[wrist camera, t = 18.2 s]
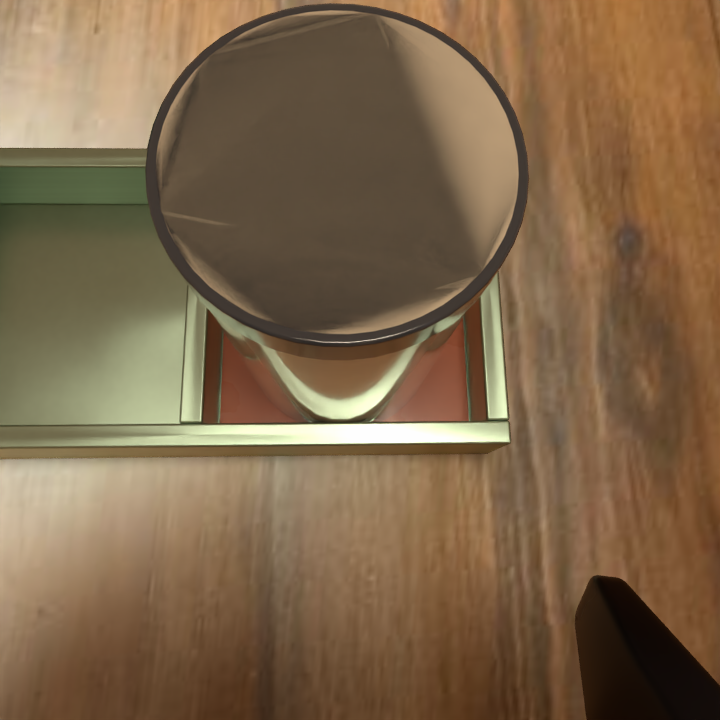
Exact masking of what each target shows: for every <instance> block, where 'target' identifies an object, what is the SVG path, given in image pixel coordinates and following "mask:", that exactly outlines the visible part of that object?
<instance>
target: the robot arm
mask: <svg viewBox="0 0 720 720" xmlns="http://www.w3.org/2000/svg"><path fill="white" fill-rule="evenodd" d="M575 630H576V638H577V646H578V654H579V663H580V671H581V679H582V687H583V695H584V703H585V711H586V719H587V720H720V685H719V684H718V683H717V682H716V681H715V680H714V679H713V678H712V677H711V675H710V674H709V673H708V672H707V671H706V670H705V669H704V668H703V667H702V666H701V664H700V663H699V662H698V661H697V660H696V659H695V658H694V657H693V656H692V655H691V653H690V652H689V651H688V650H687V649H686V648H685V647H684V646H683V645H682V644H681V642H680V641H679V640H678V639H677V638H676V637H675V636H674V635H673V634H672V633H671V631H670V630H669V629H668V628H667V627H666V626H665V625H664V624H663V623H662V622H661V620H660V619H659V618H658V617H657V616H656V615H655V614H654V613H653V612H652V611H651V609H650V608H649V607H648V606H647V605H646V604H645V603H644V602H643V601H642V600H641V598H640V597H639V596H638V595H637V594H636V593H635V592H634V591H633V590H632V589H631V587H630V586H629V585H628V584H627V583H626V582H625V581H623V580H622V579H620V578H616V577H608V576H599V575H596V576H593V577H592V578H591V579H590V581H589V583H588V585H587V587H586V589H585V592H584V594H583V596H582V599H581V601H580V603H579V605H578V608H577V611H576V615H575Z"/></svg>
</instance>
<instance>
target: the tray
mask: <svg viewBox="0 0 720 720" xmlns="http://www.w3.org/2000/svg"><path fill="white" fill-rule="evenodd" d="M146 156H147V149H110V148H0V459H33V458H126V457H219V456H312V455H406V454H488V453H490V452H492V451H494V450H496V449H499V448H501V447H503V446H506V445H508V444H510V443H511V433H510V423H509V421H507V420H509V407H508V394H507V380H506V366H505V353H504V339H503V325H502V312H501V298H500V284H499V271H498V272H497V274H496V275H495V277H494V278H493V280H492V281H491V283H490V284H489V286H488V287H487V288H486V289H485V291H484V292H483V293H482V295H481V296H480V297H479V299H478V300H477V301H476V302H475V303H474V304H473V305H472V306H471V307H470V308H469V309H468V310H467V311H466V313H465V315H464V316H463V318H462V320H461V321H460V323H459V325H458V326H457V328H456V329H455V331H454V333H453V334H452V336H451V338H450V339H449V341H448V342H447V344H446V346H445V347H444V349H443V351H442V352H441V354H440V356H439V357H438V359H437V360H436V362H435V364H434V365H433V367H432V369H431V370H430V372H429V374H428V375H427V377H426V378H425V380H424V382H423V383H422V385H421V387H420V388H419V390H418V391H417V393H416V394H415V395H414V396H413V398H412V399H411V400H410V401H409V402H408V403H407V404H406V405H405V406H404V407H403V408H402V409H401V410H399V411H398V412H397V413H396V414H394V415H393V416H391V417H390V418H388V419H386V420H384V421H382V422H302V423H299V422H297V421H295V420H293V419H292V418H290V417H288V416H286V415H285V414H284V413H282V412H281V411H280V410H279V409H277V408H276V407H275V406H274V405H273V404H272V403H271V402H270V401H269V400H268V399H267V398H266V396H265V395H264V394H263V392H262V391H261V389H260V388H259V386H258V385H257V383H256V382H255V380H254V379H253V377H252V375H251V374H250V372H249V371H248V369H247V368H246V366H245V365H244V363H243V361H242V360H241V358H240V357H239V355H238V354H237V352H236V350H235V349H234V347H233V346H232V344H231V343H230V341H229V339H228V338H227V336H226V335H225V333H224V332H223V330H222V328H221V327H220V325H219V324H218V322H217V321H216V319H215V318H214V316H213V314H212V313H211V311H210V310H209V309H208V308H207V307H206V306H205V305H204V304H203V303H202V302H201V301H200V300H199V299H198V298H197V297H196V296H195V294H194V293H193V292H192V290H191V289H190V288H189V286H188V285H187V284H186V282H185V281H184V279H183V278H182V277H181V275H180V274H179V272H178V271H177V269H176V268H175V266H174V265H173V263H172V262H171V260H170V258H169V256H168V255H167V253H166V251H165V249H164V247H163V245H162V243H161V242H160V240H159V238H158V235H157V232H156V229H155V227H154V224H153V221H152V218H151V215H150V210H149V205H148V200H147V195H146V179H145V166H146Z"/></svg>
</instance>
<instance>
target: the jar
mask: <svg viewBox="0 0 720 720" xmlns="http://www.w3.org/2000/svg"><path fill="white" fill-rule="evenodd" d="M145 179H146V195H147V200H148V205H149V210H150V215H151V218H152V221H153V224H154V227H155V229H156V232H157V235H158V238H159V240H160V242H161V243H162V245H163V247H164V249H165V251H166V253H167V255H168V256H169V258H170V260H171V262H172V263H173V265H174V266H175V268H176V269H177V271H178V272H179V274H180V275H181V277H182V278H183V279H184V281H185V282H186V284H187V285H188V286H189V288H190V289H191V290H192V292H193V293H194V294H195V296H196V297H197V298H198V299H199V300H200V301H201V302H202V303H203V304H204V305H205V306H206V307H207V308H208V309H209V310H210V311H211V313H212V314H213V316H214V318H215V319H216V321H217V322H218V324H219V325H220V327H221V328H222V330H223V332H224V333H225V335H226V336H227V338H228V339H229V341H230V343H231V344H232V346H233V347H234V349H235V350H236V352H237V354H238V355H239V357H240V358H241V360H242V361H243V363H244V365H245V366H246V368H247V369H248V371H249V372H250V374H251V375H252V377H253V379H254V380H255V382H256V383H257V385H258V386H259V388H260V389H261V391H262V392H263V394H264V395H265V396H266V398H267V399H268V400H269V401H270V402H271V403H272V404H273V405H274V406H275V407H276V408H277V409H279V410H280V411H281V412H282V413H284V414H285V415H286V416H288V417H290V418H292V419H293V420H295V421H297V422H299V423H302V422H382V421H384V420H386V419H388V418H390V417H391V416H393V415H394V414H396V413H397V412H398V411H399V410H401V409H402V408H403V407H404V406H405V405H406V404H407V403H408V402H409V401H410V400H411V399H412V398H413V396H414V395H415V394H416V393H417V391H418V390H419V388H420V387H421V385H422V383H423V382H424V380H425V378H426V377H427V375H428V374H429V372H430V370H431V369H432V367H433V365H434V364H435V362H436V360H437V359H438V357H439V356H440V354H441V352H442V351H443V349H444V347H445V346H446V344H447V342H448V341H449V339H450V338H451V336H452V334H453V333H454V331H455V329H456V328H457V326H458V325H459V323H460V321H461V320H462V318H463V316H464V315H465V313H466V311H467V310H468V309H469V308H470V307H471V306H472V305H473V304H474V303H475V302H476V301H477V300H478V299H479V297H480V296H481V295H482V293H483V292H484V291H485V289H486V288H487V287H488V286H489V284H490V283H491V281H492V280H493V278H494V277H495V275H496V274H497V272H498V270H499V269H500V267H501V266H502V264H503V262H504V261H505V259H506V257H507V255H508V253H509V252H510V250H511V248H512V246H513V245H514V242H515V240H516V237H517V235H518V232H519V229H520V227H521V224H522V221H523V217H524V212H525V208H526V203H527V196H528V183H529V173H528V158H527V152H526V147H525V143H524V138H523V133H522V130H521V128H520V125H519V122H518V120H517V117H516V114H515V112H514V110H513V108H512V106H511V104H510V102H509V100H508V98H507V97H506V95H505V93H504V91H503V90H502V89H501V87H500V86H499V84H498V83H497V82H496V80H495V79H494V77H493V76H492V75H491V73H490V72H489V71H488V70H487V69H486V68H485V67H484V66H483V65H482V64H481V63H480V62H479V61H478V59H477V58H476V57H474V56H473V55H472V54H471V53H470V52H468V51H467V50H466V49H465V48H464V47H463V46H461V45H460V44H459V43H457V42H456V41H454V40H453V39H451V38H450V37H448V36H447V35H445V34H444V33H442V32H441V31H439V30H437V29H435V28H433V27H431V26H429V25H427V24H425V23H423V22H421V21H419V20H416V19H413V18H411V17H408V16H405V15H403V14H400V13H397V12H393V11H389V10H385V9H381V8H377V7H370V6H363V5H356V4H332V3H329V4H316V5H305V6H300V7H295V8H290V9H285V10H281V11H278V12H275V13H271V14H268V15H265V16H262V17H259V18H257V19H255V20H253V21H250V22H248V23H246V24H243V25H241V26H239V27H238V28H236V29H234V30H233V31H231V32H229V33H227V34H226V35H224V36H222V37H221V38H219V39H218V40H217V41H215V42H214V43H213V44H212V45H210V46H209V47H208V48H206V49H205V50H204V51H202V52H201V53H200V54H199V55H198V56H197V57H196V58H195V59H194V60H193V61H192V62H191V63H190V64H189V65H188V66H187V67H186V69H185V70H184V71H183V72H182V74H181V75H180V76H179V78H178V79H177V80H176V81H175V83H174V84H173V85H172V87H171V89H170V91H169V92H168V94H167V96H166V97H165V99H164V101H163V102H162V104H161V107H160V109H159V112H158V114H157V116H156V119H155V121H154V124H153V127H152V131H151V135H150V139H149V143H148V147H147V156H146V166H145Z"/></svg>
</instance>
